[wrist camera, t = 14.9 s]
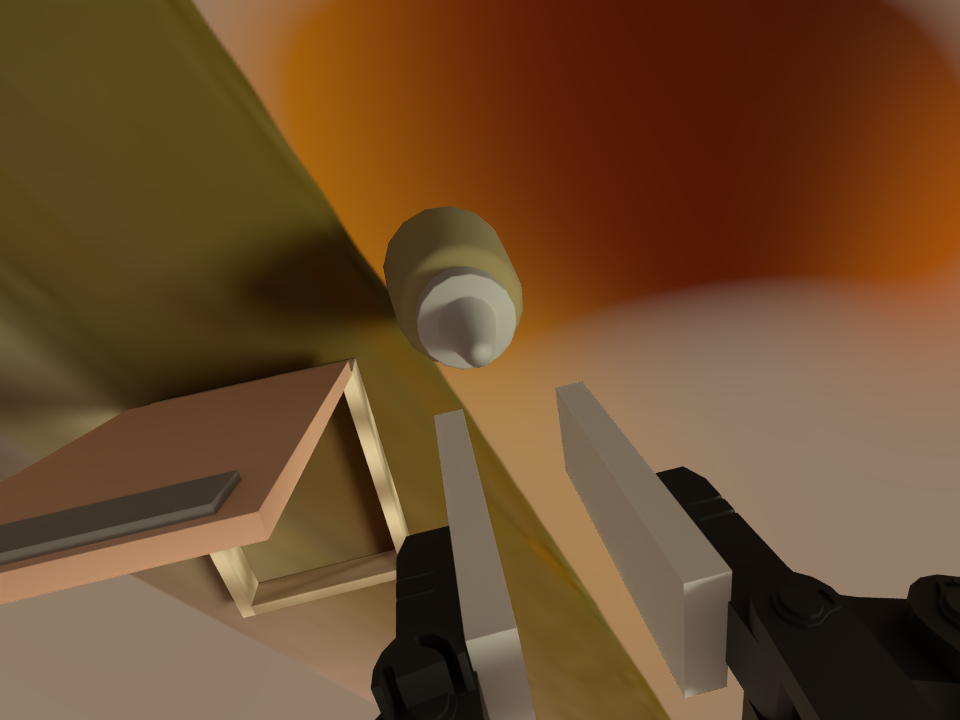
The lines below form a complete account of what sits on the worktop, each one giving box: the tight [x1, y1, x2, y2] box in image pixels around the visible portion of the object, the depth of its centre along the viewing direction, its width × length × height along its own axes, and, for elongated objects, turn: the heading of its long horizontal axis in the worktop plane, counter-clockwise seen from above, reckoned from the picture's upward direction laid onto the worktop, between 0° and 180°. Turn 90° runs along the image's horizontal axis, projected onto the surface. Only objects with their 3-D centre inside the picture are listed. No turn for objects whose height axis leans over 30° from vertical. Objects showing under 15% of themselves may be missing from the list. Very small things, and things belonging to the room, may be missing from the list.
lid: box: [0, 361, 352, 605], centre depth 25 cm, size 20×15×1 cm
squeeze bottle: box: [383, 206, 523, 369], centre depth 28 cm, size 8×8×18 cm
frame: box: [152, 358, 410, 618], centre depth 40 cm, size 20×15×2 cm
